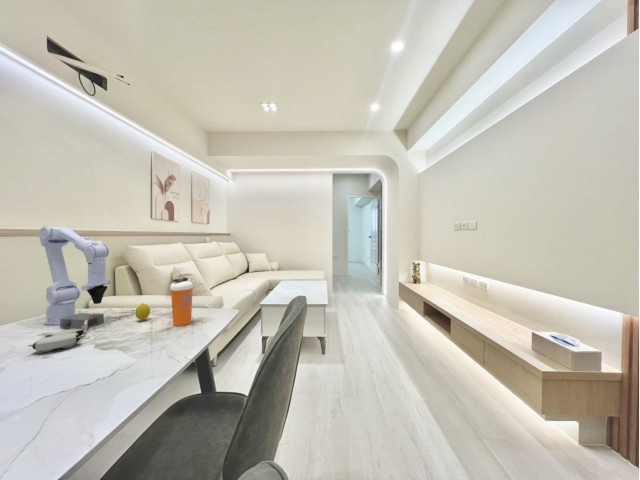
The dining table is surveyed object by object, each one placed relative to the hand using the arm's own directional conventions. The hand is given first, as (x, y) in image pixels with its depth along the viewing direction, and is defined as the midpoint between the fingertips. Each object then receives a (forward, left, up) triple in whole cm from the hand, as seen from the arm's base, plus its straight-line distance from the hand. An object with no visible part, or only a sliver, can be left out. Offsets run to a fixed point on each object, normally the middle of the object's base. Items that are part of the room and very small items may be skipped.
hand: (97, 303), depth 109 cm
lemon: (+15, +8, -10) cm, 19 cm away
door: (+2, -7, -10) cm, 12 cm away
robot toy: (+7, -19, -10) cm, 23 cm away
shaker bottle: (+36, +6, -10) cm, 38 cm away
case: (-7, 0, -10) cm, 12 cm away
